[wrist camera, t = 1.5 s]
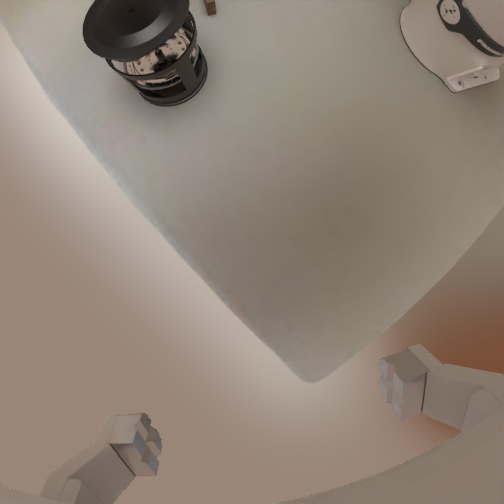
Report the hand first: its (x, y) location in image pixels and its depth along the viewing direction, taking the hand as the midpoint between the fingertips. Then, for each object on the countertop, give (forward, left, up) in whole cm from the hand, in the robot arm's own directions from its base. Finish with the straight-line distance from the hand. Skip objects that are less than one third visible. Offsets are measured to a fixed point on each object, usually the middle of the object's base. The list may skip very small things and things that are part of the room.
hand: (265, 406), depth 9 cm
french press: (+3, -23, -31) cm, 39 cm away
